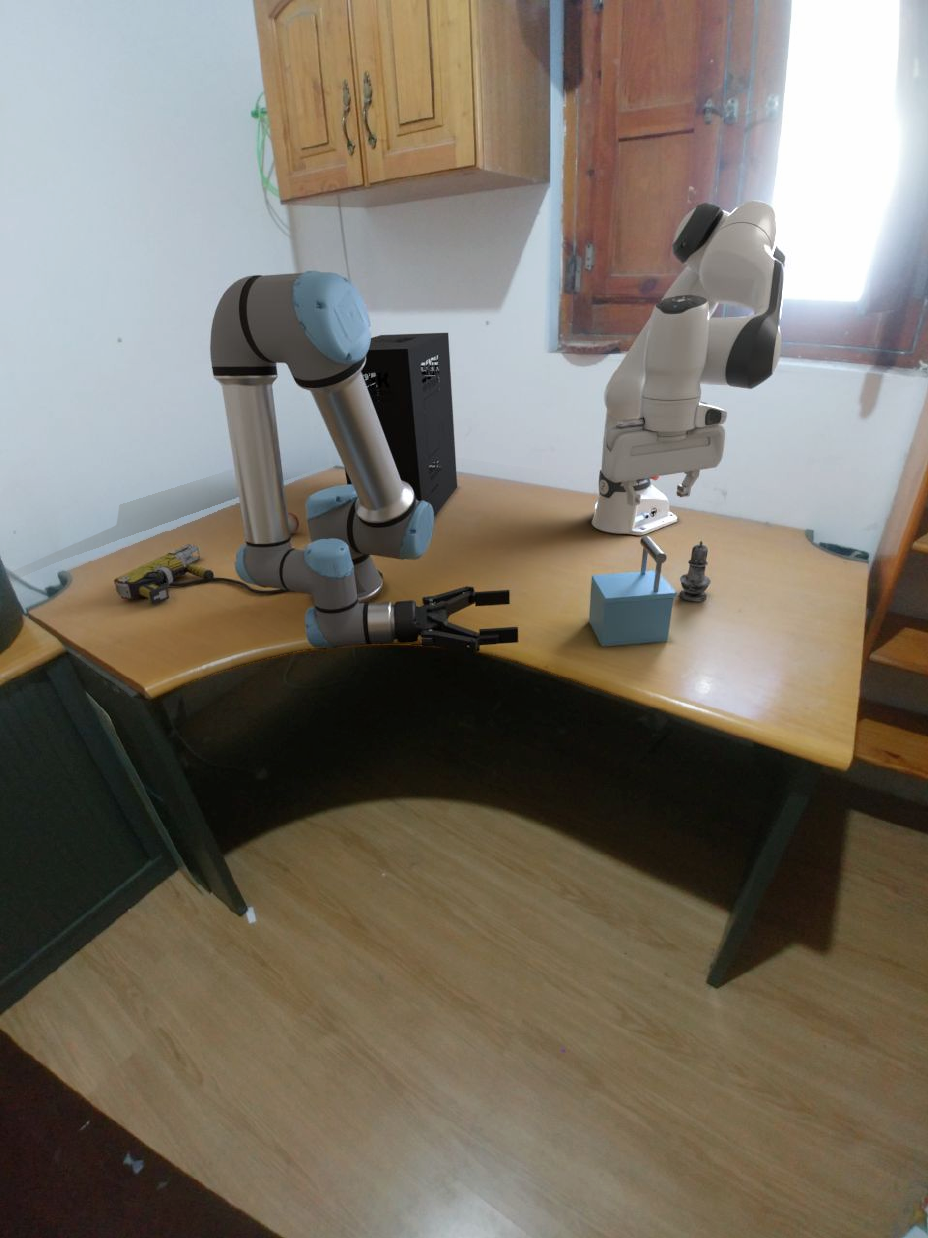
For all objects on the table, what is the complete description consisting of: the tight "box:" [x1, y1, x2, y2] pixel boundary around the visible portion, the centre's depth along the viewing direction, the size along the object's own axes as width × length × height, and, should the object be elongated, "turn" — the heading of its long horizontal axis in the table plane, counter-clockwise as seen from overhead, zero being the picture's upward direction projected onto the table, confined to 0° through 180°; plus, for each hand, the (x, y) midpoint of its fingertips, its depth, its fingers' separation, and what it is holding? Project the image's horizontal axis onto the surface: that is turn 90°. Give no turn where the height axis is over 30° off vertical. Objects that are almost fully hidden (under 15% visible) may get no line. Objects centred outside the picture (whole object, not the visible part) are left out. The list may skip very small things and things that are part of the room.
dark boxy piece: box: [344, 332, 458, 518], centre depth 169 cm, size 38×20×45 cm, turn 167°
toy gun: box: [113, 543, 215, 606], centre depth 141 cm, size 5×24×15 cm
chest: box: [588, 579, 674, 648], centre depth 111 cm, size 12×9×9 cm
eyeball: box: [287, 511, 300, 535], centre depth 163 cm, size 6×6×6 cm
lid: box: [591, 535, 677, 603], centre depth 107 cm, size 12×9×8 cm
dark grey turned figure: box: [678, 540, 712, 603], centre depth 120 cm, size 6×6×12 cm
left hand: (513, 614), depth 108 cm, fingers open, 13 cm apart
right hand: (658, 500), depth 101 cm, fingers open, 8 cm apart
